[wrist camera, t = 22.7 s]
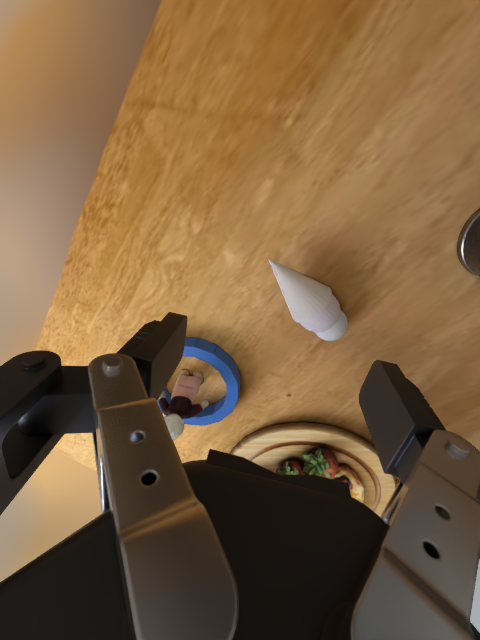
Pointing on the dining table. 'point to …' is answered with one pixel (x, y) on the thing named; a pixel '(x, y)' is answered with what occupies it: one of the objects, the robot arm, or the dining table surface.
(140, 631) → the robot arm
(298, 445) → the wooden plate
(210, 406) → the tape ring
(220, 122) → the dining table surface
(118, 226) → the dining table surface
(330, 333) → the ice cream cone
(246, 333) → the dining table surface
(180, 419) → the grandmother figurine
